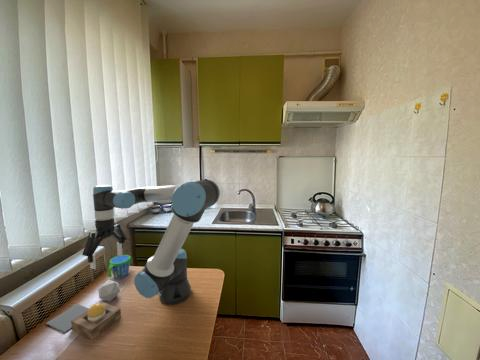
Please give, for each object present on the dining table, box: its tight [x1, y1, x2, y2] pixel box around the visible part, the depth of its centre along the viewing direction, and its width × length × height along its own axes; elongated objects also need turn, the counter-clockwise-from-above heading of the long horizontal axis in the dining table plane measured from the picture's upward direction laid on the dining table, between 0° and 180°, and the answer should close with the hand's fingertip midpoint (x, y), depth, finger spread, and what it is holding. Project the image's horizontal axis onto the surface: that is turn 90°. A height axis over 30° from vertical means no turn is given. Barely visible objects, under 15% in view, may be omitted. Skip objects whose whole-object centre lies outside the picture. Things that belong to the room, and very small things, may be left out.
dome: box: [88, 302, 106, 323], centre depth 85 cm, size 6×6×7 cm
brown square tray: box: [71, 301, 122, 341], centre depth 86 cm, size 12×12×4 cm
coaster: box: [45, 303, 90, 334], centre depth 89 cm, size 12×12×1 cm
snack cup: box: [107, 254, 133, 280], centre depth 120 cm, size 16×10×10 cm
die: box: [97, 279, 121, 302], centre depth 101 cm, size 8×9×10 cm
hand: (107, 261), depth 99 cm, fingers open, 13 cm apart
